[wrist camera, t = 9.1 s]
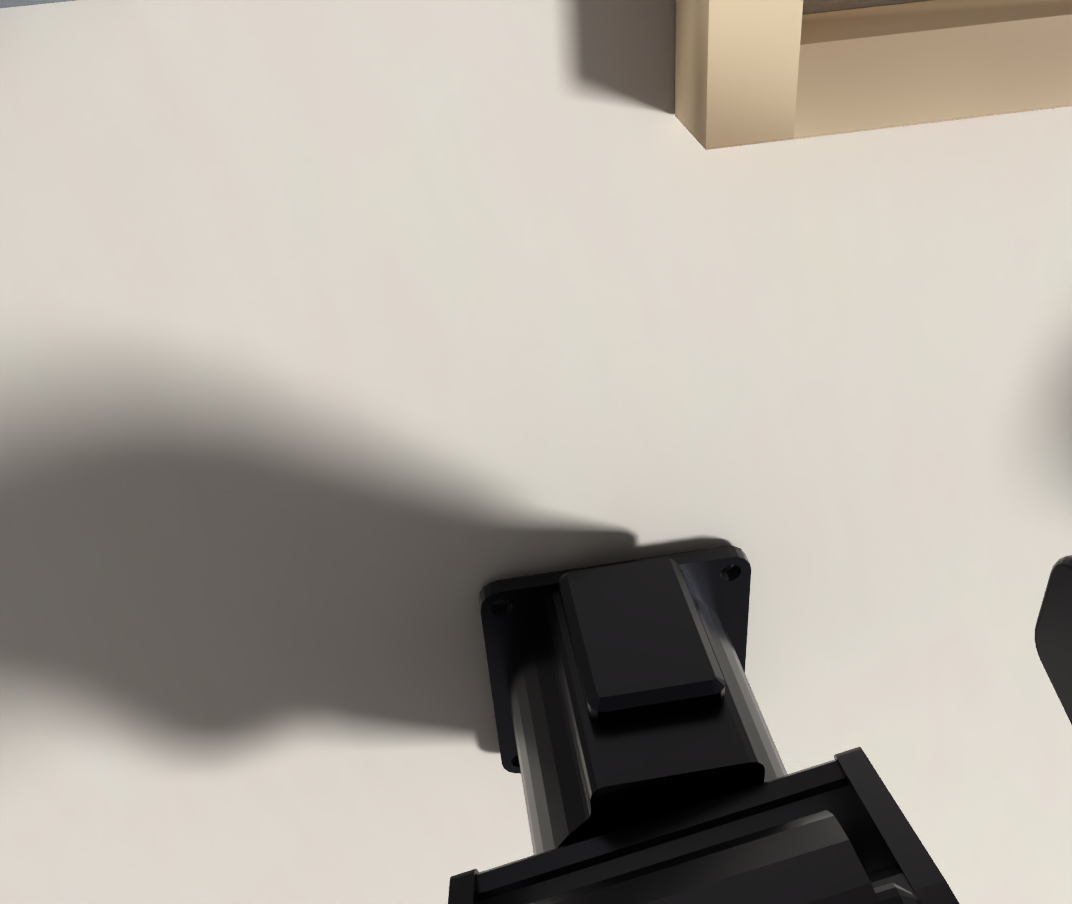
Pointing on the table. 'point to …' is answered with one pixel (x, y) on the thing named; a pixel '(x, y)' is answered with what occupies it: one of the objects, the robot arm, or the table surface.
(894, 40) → the pocket frame
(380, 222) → the table surface
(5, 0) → the coaster
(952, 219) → the table surface
